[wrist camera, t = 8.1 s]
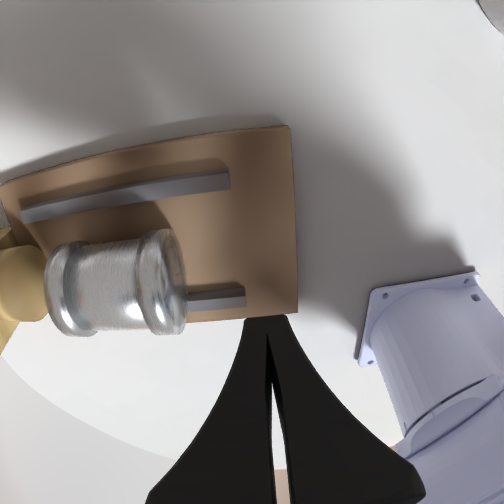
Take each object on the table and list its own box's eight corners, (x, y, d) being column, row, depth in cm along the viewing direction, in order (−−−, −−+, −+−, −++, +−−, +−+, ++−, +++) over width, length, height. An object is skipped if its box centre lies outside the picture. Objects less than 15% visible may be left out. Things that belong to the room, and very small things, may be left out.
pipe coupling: (166, 206, 15) (151, 295, 11) (189, 272, 18) (185, 351, 15) (63, 223, 15) (32, 302, 11) (99, 280, 19) (83, 352, 15)
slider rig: (287, 125, 15) (339, 185, 7) (295, 302, 20) (320, 422, 13) (-37, 197, 15) (-116, 265, 8) (20, 318, 21) (-25, 399, 13)
